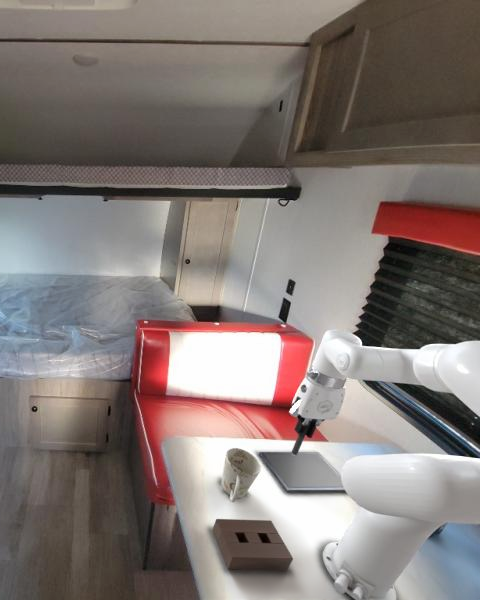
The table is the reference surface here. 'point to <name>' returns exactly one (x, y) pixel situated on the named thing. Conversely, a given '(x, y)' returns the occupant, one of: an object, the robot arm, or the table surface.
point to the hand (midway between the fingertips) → (302, 433)
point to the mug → (239, 472)
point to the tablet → (303, 472)
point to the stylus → (299, 442)
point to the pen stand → (251, 545)
